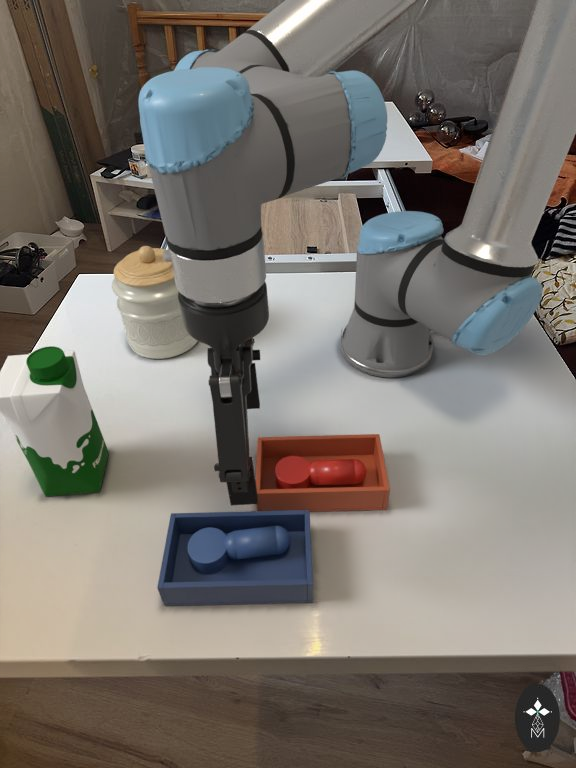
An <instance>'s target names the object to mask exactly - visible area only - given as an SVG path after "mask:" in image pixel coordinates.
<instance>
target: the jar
mask: <svg viewBox="0 0 576 768" xmlns="http://www.w3.org/2000/svg"><path fill="white" fill-rule="evenodd" d="M165 250H166V249H165V248H161V247H159V248H157V247H152V246H149V245H142V246H141V247H139V249H138V250H136V251H133V252H131V253H129V254H127V255H126V256H124V258H122V260H120V261H118V262H117V264H116V265H115V266H114V269H113V276H114V278H113V280H112V282H111V289H112V292H113V293H114V295H115V296H117V300H116V308H117V309H118V311H119V313H120V316H121V320H122V325H123V327H124V335H125V338H126V342H127V344H128V345H129V346H130V348H131V349H132V351H133V352H134V353H135V354H136V355H139V356H140V357H143V358H147V359H154V360H155V359H156V360H158V359H159V360H161V359H169V358H173V357H177V356H180V355H183V354H184V353H186V352H188V351H190V350H191V349H192V348H193V347H194V346H195V345H196V344H197V343H198V342H199V341H197V340H196V339H194V338H193V337H191V336H190V335H189V334H188V332H187V331H186V329H185V326H184V322H183V318H182V313H181V309H180V304H179V300H178V292H179V291H178V289H177V287H176V283H175V278H174V274H173V265H172V262H165V261H164V260H163V257H162V256H163V252H164V251H165Z"/></svg>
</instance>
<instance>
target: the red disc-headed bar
mask: <svg viewBox="0 0 576 768" xmlns="http://www.w3.org/2000/svg"><path fill="white" fill-rule="evenodd" d="M275 476H276V485H277V487H278V489H303V488H309V487H310V484H311V483H312V484H314V485H349V484H359V483H361V482H362V481H363V480H364V479H365V477H366V467H365V465H364V464H363V463H362V462H361V461H359V460H356V459H340V460H315V461H312V462H311V463H310V464H309V462H308V461H307V460H306V459H304V458H302V457H299V456H288V457H285V458H283V459H281V460H280V461H279V462H278V463H277V465H276V467H275Z"/></svg>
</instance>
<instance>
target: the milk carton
mask: <svg viewBox="0 0 576 768" xmlns="http://www.w3.org/2000/svg"><path fill="white" fill-rule="evenodd" d="M78 362H79V361H78V358H77V355H76V351H75V350H63V349H62V348H60V347H58V346H54V345H53V346H51V345H50V346H43V347H41V348H38V349H36V350H34V351H32V352H29V353H28V354H27V353H26V354H15V355H7V357H6V359H5V361H4V363H3V366H2V367H1V369H0V414H1V415H2V417H3V419H4V420H5V422H6V424H7V426H8V427H9V430H10V431H11V433H12V435H13V436H14V438H15V440H16V442H17V444H18V446H19V447H20V449H21V451H22V453H23V455H24V457H25V459H26V460H27V462H28V463H29V466H30V469H31V471H32V473H33V475H34V477H35V478H36V480H37V482H38V485H39V487H40V489H41V491H42V493H43V495H44V497H46V498H47V497H56V496H67V495H68V496H69V495H79V494H92V493H100V492H101V490H102V485H103V481H104V476H105V471H106V467H107V463H108V457H109V454H110V451H109V448H108V447H107V446H108V445H107V444H106V440H105V438H104V436H103V433H102V431H101V428H100V425H99V422H98V420H97V418H96V415H95V412H94V409H93V407H92V404H91V401H90V399H89V397H88V393H87V390H86V388H85V386H84V382H83V378H82V376H81V375H82V374H81V370H80V367H79V363H78Z"/></svg>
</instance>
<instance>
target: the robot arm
mask: <svg viewBox="0 0 576 768" xmlns="http://www.w3.org/2000/svg"><path fill="white" fill-rule="evenodd" d="M420 1H421V0H284V1H283V2H281V3H280V4H279V5H277V6H276V7H274V8H273V9H272V10H271V11H270V12H268V13H267V14H266V15H265V16H263V17H262V18H261V19H259V20H258V21H257V22H255V23H254V24H253V25H252V26H251V27H249V28H248V29H247V30H246V31H244V32H243V33H241V34H240V35H239V36H238V37H236V38H234V39H233V40H231V42H229V43H228V44H226V46H224V47H223V48H221V49H220V50H216V49H208V48H207V49H205V50H196V51H195V50H194V51H191V52H189V53H187V54H186V55H184V56H183V57H182V58H181V59H180V60H179V62H178V63H177V64H176V66H175V68H174V70H170V71H167V72H164V73H161V74H158V75H156V76H153V77H152V78H150V79H149V80H148V81H146V82H145V84H143V86H142V87H141V89H140V90H139V95H138V111H139V122H140V128H141V129H140V130H141V136H142V141H143V147H144V157H145V162H146V165H147V166H148V169H149V173H150V177H151V181H152V186H153V189H154V194H155V198H156V202H157V205H158V211H159V214H160V218H161V223H162V227H163V231H164V237H165V242H166V245H167V249H165V251H164V252H163V256H162V257H163V260H164V261H165V262H172V265H173V274H174V278H175V283H176V287H177V289H178V291H179V292H178V300H179V304H180V309H181V313H182V318H183V322H184V326H185V329H186V331H187V332H188V334H189V335H190V336H191V337H193V338H194V339H196V340H197V341H198V342H200V343H202V344H205V346H208V347H207V352H206V353H207V356H206V357H207V365H208V366H209V367H210V375H209V379H208V386H209V389H210V396H211V403H212V409H213V410H212V411H213V421H214V432H215V441H216V451H217V462H216V463H215V464H214V465H213V470H214V472H218V479H219V482H220V483H226V487H227V492H228V497H229V503H230V506H243V505H244V506H245V505H246V506H247V505H248V506H249V505H256V504H258V495H257V488H256V473H255V468H254V460H253V456H250V454H251V453H250V439H249V421H248V420H249V419H248V410H259V409H260V408H261V402H260V394H259V385H258V377H257V376H258V375H257V368H256V363H255V362H254V361H261V349H254V344H255V343H256V342H255V337H256V336H258V335H259V334H260V333H261V332H262V331H263V330H264V329H265V327H266V326H267V324H268V322H269V318H270V309H269V308H270V307H269V298H268V297H269V296H268V287H267V282H266V279H267V267H266V255H265V254H266V253H265V242H264V232H263V228H262V205H264V204H266V203H270V202H273V201H276V200H279V199H281V198H283V197H285V196H288V195H289V196H290V195H292V194H295V193H298V192H300V191H304V190H307V189H311V188H312V187H316V186H319V185H322V184H325V183H328V182H332V181H334V180H339V179H344V178H346V177H347V176H348V175H349V174H352V173H353V172H356V171H358V170H361V169H362V168H365V167H367V166H369V165H371V164H372V163H373V162H374V161H375V160H377V158H378V157H379V155H380V154H381V152H382V150H383V148H384V146H385V143H386V139H387V131H388V110H387V105H386V102H385V99H384V96H383V94H382V93H381V92H382V91H381V90H380V88H379V86H378V85H377V83H375V81H374V80H373V79H372V78H371V77H370V76H369V75H367V74H366V73H364V72H362V71H360V70H345V71H336V70H337V69H338V68H339V67H341V66H342V65H343V64H345V62H347V61H348V60H349V59H350V58H351V57H353V56H354V55H355V54H356V53H358V52H359V51H360V50H361V49H362V48H364V47H365V46H367V45H368V44H369V43H370V42H371V41H372V40H373V39H375V38H377V36H378V35H380V34H381V33H382V32H383V31H385V30H386V29H387V28H389V27H390V26H391V25H392V24H393V23H394V22H396V21H397V20H398V19H399V18H401V17H402V16H403V15H404V14H405V13H407V12H408V11H409V10H411V9H412V8H413V7H415V5H417V4H418V3H419V2H420ZM503 94H504V95H503V97H502V101H501V104H500V107H499V110H498V113H497V115H496V118H495V122H494V125H493V128H492V131H491V134H490V137H489V140H488V143H487V146H486V149H485V152H484V155H483V158H482V162H481V164H480V167H479V171H478V173H477V177H476V180H475V183H474V185H473V188H472V192H471V195H470V198H469V200H468V205H467V207H466V210H465V213H464V216H463V219H462V221H461V224H460V225H459V226H458V227H456V228H454V229H451V230H450V231H449V232H447V233H446V234H445V235H444V238H443V237H442V234H443V233H444V227H443V223H442V220H441V218H439V217H438V216H437V215H434V214H432V213H428V212H424V211H418V210H417V211H416V210H415V211H414V210H400V211H391V212H386V213H382V214H379V215H376V216H374V217H372V218H370V219H368V220H367V221H366V222H365V223H364V224H363V225H362V226H361V228H360V231H359V237H358V243H357V247H356V260H355V261H356V262H355V265H356V266H355V284H354V303H353V304H354V305H353V309H352V311H351V315H350V316H349V320H348V322H347V324H346V325H345V327H344V329H343V330H341V333H340V335H341V337H340V350H341V351H340V352H341V354H342V356H343V359H344V360H345V361H346V362H347V363H348V364H349V365H350V366H352V367H353V368H354V369H356V370H358V371H360V372H362V373H364V374H367V375H371V376H374V377H379V378H401V377H407V376H411V375H413V374H416V373H418V372H420V371H422V370H423V369H424V368H425V367H427V366H428V364H429V363H430V362H431V359H432V356H433V350H434V339H433V335H432V332H434V333H435V334H437V335H439V336H441V337H443V338H444V339H446V340H447V341H449V342H451V344H452V345H453V346H456V347H460V348H462V349H464V350H466V351H468V352H470V353H472V354H473V355H477V356H486V355H491V354H493V353H495V352H497V351H499V350H501V349H502V348H504V347H505V346H507V344H509V343H510V342H511V341H512V340H514V338H515V337H516V336H517V335H519V334H520V332H521V331H522V330H523V329H524V328H525V327H526V325H527V324H528V323H529V321H530V320H531V318H532V317H533V315H534V314H535V312H536V311H537V309H538V308H539V305H540V303H542V302H543V301H542V298H543V284H542V283H541V282H540V281H539V280H538V279H537V278H536V277H533V276H532V275H533V273H534V270H535V267H536V265H537V263H538V260H539V257H538V255H537V253H536V250H535V248H534V246H533V244H532V241H533V238H534V236H535V234H536V231H537V229H538V226H539V224H540V221H541V219H542V218H543V217H542V216H543V214H544V212H545V209H546V207H547V205H548V202H549V200H550V197H551V195H552V192H553V190H554V187H555V185H556V183H557V180H558V177H559V175H560V173H561V170H562V168H563V165H564V163H565V160H566V158H567V155H568V154H569V151H570V148H571V146H572V143H573V142H574V139H575V136H576V0H534V3H533V6H532V8H531V12H530V15H529V19H528V21H527V25H526V27H525V31H524V33H523V36H522V40H521V42H520V46H519V49H518V51H517V55H516V58H515V61H514V65H513V66H512V70H511V73H510V76H509V80H508V82H507V85H506V88H505V92H504V93H503Z"/></svg>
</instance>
